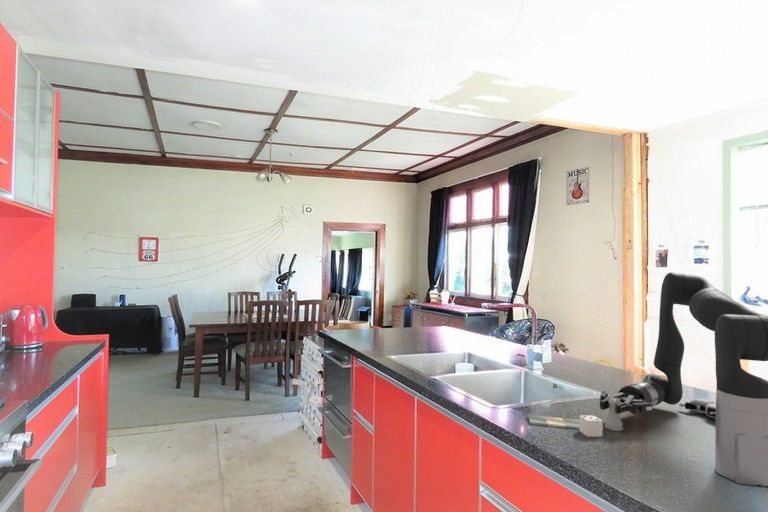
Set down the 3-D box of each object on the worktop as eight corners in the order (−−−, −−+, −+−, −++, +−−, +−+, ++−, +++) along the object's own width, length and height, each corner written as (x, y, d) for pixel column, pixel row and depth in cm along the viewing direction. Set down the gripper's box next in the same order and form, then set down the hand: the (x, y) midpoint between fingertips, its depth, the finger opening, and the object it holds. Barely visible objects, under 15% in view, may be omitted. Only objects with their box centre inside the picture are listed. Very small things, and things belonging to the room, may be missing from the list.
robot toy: (676, 413, 140) (726, 427, 126) (675, 398, 140) (725, 410, 126) (705, 411, 144) (757, 423, 130) (704, 396, 144) (756, 407, 130)
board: (602, 431, 120) (602, 428, 120) (530, 424, 124) (530, 422, 124) (596, 423, 126) (596, 421, 126) (527, 417, 129) (527, 415, 129)
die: (602, 436, 116) (602, 420, 116) (586, 436, 116) (587, 420, 116) (594, 431, 120) (594, 415, 120) (579, 430, 120) (579, 415, 120)
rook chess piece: (625, 432, 120) (626, 401, 120) (607, 430, 121) (607, 399, 121) (620, 426, 124) (621, 396, 124) (602, 425, 125) (603, 395, 125)
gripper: (613, 378, 137) (583, 386, 126) (665, 389, 126) (638, 399, 115) (612, 404, 137) (582, 414, 126) (665, 417, 126) (637, 430, 115)
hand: (609, 407), depth 121 cm, fingers closed on rook chess piece, 3 cm apart
